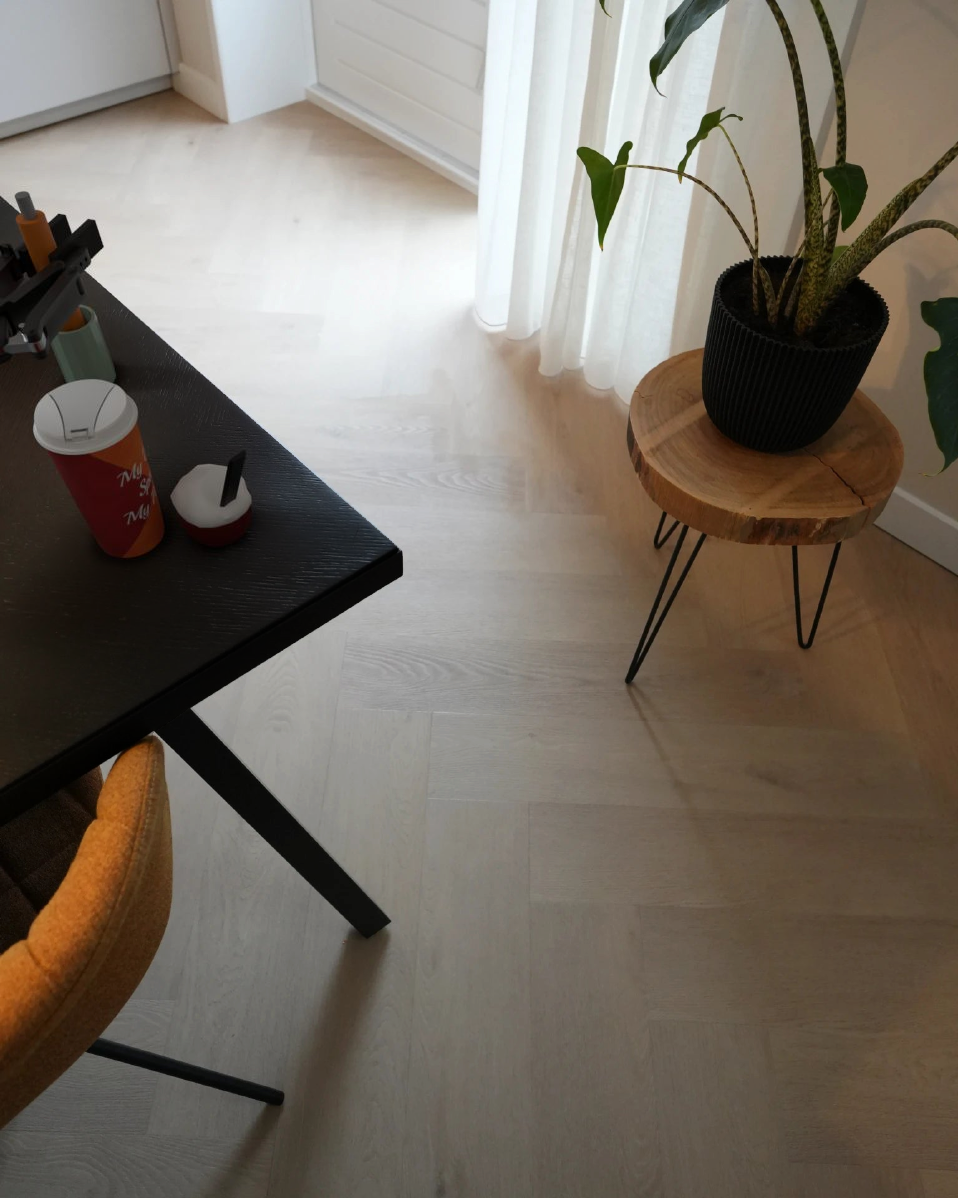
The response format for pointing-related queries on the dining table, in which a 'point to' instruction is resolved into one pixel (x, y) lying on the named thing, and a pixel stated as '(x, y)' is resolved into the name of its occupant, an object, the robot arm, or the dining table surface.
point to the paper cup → (102, 463)
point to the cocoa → (214, 502)
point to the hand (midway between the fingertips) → (81, 230)
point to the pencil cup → (84, 351)
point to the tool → (40, 245)
